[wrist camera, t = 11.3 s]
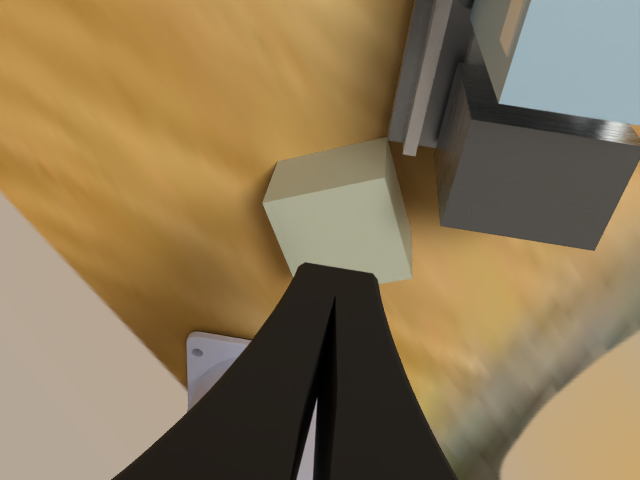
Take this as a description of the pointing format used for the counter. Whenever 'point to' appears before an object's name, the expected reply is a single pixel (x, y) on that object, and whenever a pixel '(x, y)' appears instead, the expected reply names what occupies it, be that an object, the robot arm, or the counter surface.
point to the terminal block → (342, 211)
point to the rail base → (503, 142)
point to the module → (563, 55)
